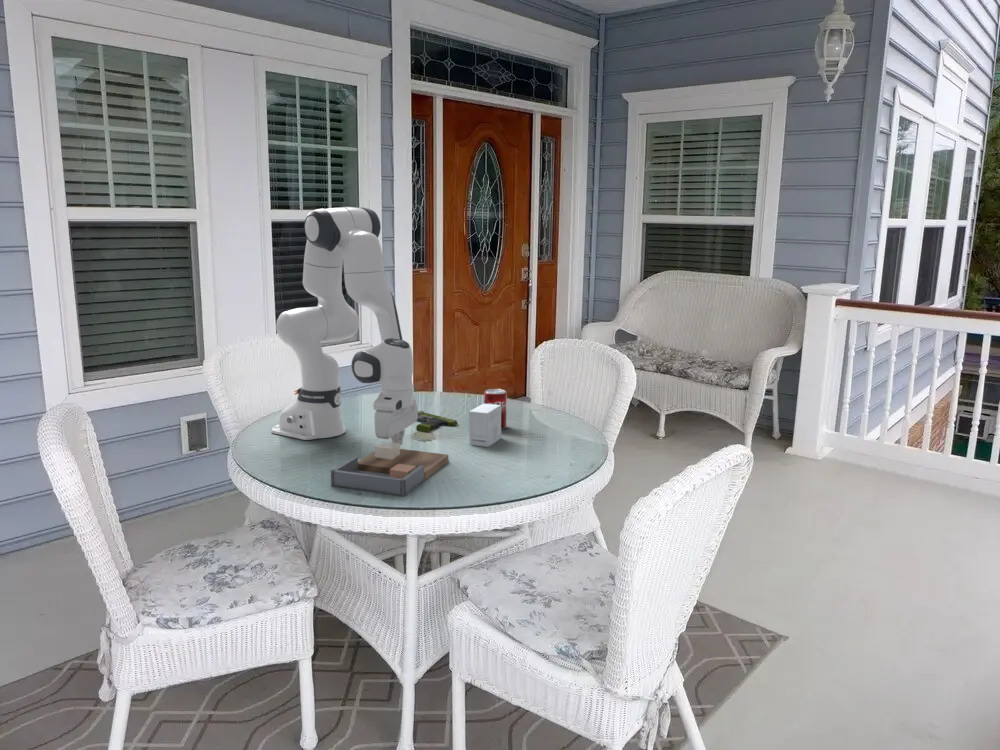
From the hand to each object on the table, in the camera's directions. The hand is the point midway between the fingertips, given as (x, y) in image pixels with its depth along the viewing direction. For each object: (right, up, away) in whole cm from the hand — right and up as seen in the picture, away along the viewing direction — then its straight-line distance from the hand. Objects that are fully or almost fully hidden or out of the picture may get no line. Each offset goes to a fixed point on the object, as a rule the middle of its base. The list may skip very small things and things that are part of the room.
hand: (397, 445), depth 218 cm
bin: (-2, -8, -21) cm, 22 cm away
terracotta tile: (+4, -7, -19) cm, 20 cm away
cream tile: (-2, -2, -5) cm, 6 cm away
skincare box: (+24, 0, +17) cm, 29 cm away
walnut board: (+2, -5, -7) cm, 9 cm away
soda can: (+27, +3, +31) cm, 41 cm away
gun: (+4, +4, +35) cm, 36 cm away
